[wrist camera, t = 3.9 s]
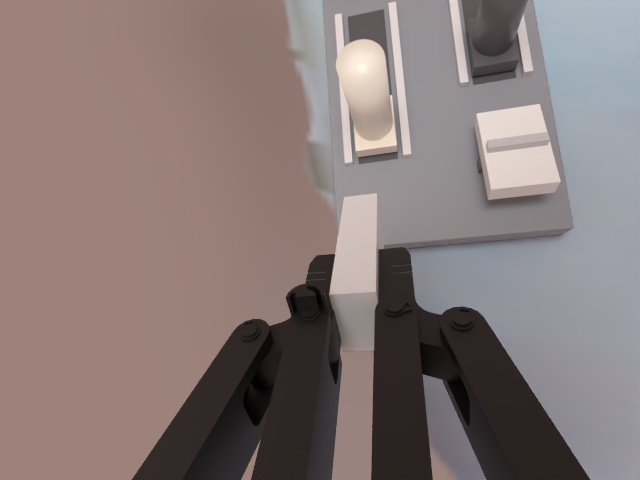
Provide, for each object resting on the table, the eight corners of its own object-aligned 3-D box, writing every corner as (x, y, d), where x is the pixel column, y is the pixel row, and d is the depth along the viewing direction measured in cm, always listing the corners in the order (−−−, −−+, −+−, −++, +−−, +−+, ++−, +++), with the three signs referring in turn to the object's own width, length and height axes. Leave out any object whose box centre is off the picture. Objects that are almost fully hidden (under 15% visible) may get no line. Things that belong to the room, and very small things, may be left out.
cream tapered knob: (354, 109, 32) (331, 35, 24) (392, 103, 31) (384, 25, 23) (357, 157, 31) (336, 98, 23) (397, 151, 31) (390, 89, 22)
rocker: (474, 126, 29) (477, 107, 27) (534, 117, 28) (541, 97, 27) (487, 199, 27) (492, 184, 25) (554, 192, 26) (563, 176, 24)
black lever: (465, 29, 31) (484, -77, 23) (507, 21, 30) (542, -92, 22) (472, 76, 30) (494, -16, 22) (515, 69, 30) (555, -29, 21)
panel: (325, -39, 38) (313, -86, 34) (506, -83, 35) (519, -142, 30) (344, 253, 33) (332, 244, 28) (560, 234, 30) (586, 220, 25)
